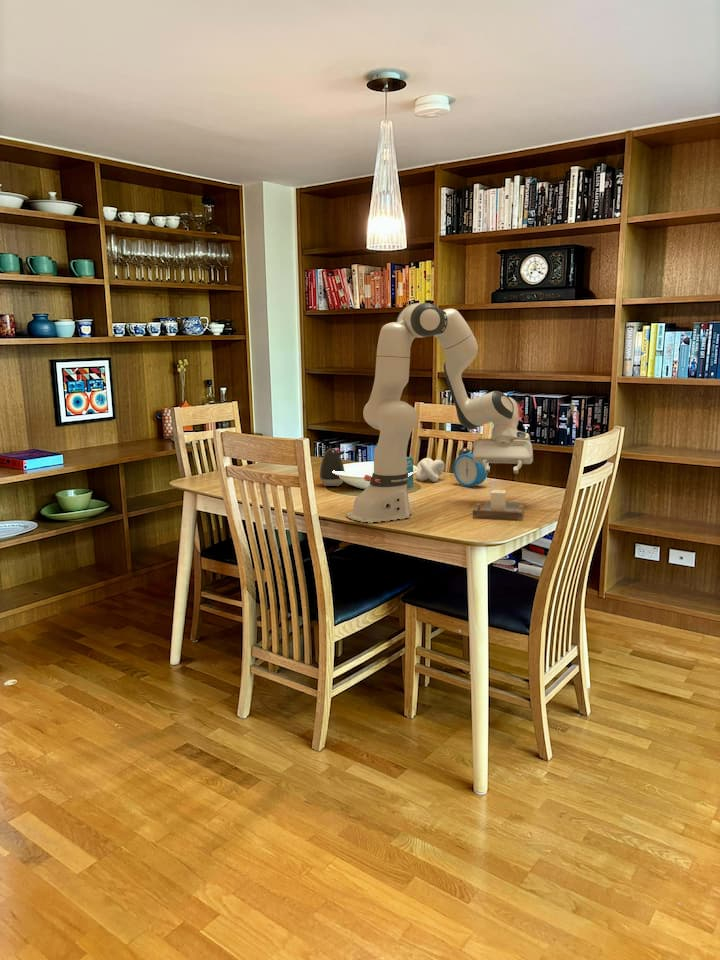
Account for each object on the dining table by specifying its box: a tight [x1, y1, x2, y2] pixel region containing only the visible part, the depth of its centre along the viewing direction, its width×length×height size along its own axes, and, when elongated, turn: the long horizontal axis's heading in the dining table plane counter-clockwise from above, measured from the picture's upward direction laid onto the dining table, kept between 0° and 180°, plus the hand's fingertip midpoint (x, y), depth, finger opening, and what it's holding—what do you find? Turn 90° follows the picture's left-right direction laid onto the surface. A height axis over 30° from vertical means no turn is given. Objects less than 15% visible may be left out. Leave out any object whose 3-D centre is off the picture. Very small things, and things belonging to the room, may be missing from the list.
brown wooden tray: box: [472, 502, 525, 522], centre depth 242 cm, size 12×15×4 cm
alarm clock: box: [452, 447, 489, 488], centre depth 293 cm, size 13×6×15 cm, turn 44°
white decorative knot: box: [415, 457, 445, 483], centre depth 304 cm, size 11×12×9 cm
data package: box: [407, 456, 414, 489], centre depth 291 cm, size 12×4×12 cm, turn 147°
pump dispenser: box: [319, 448, 345, 487], centre depth 298 cm, size 10×10×15 cm
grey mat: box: [481, 500, 521, 512], centre depth 254 cm, size 12×12×2 cm
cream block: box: [490, 489, 507, 511], centre depth 240 cm, size 4×4×8 cm
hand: (501, 472), depth 248 cm, fingers open, 8 cm apart
